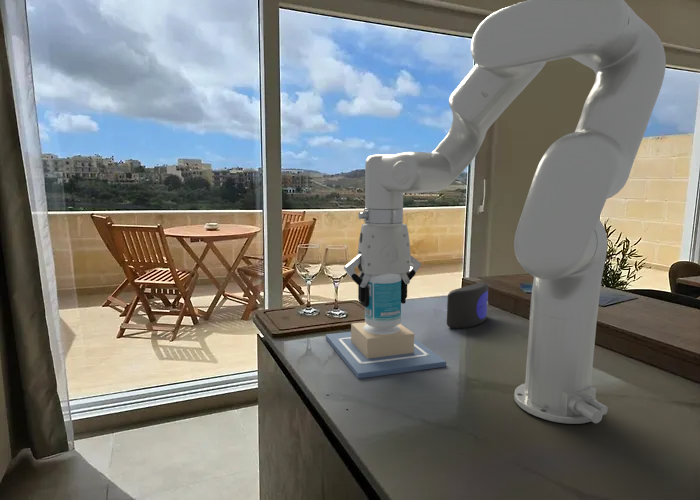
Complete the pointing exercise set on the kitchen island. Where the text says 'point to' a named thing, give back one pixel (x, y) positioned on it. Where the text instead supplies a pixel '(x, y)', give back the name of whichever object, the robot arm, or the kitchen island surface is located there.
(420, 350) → the board
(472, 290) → the black curved block
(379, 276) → the pill bottle
